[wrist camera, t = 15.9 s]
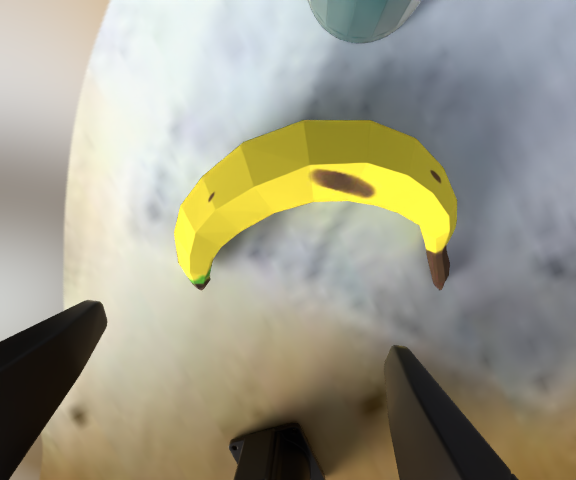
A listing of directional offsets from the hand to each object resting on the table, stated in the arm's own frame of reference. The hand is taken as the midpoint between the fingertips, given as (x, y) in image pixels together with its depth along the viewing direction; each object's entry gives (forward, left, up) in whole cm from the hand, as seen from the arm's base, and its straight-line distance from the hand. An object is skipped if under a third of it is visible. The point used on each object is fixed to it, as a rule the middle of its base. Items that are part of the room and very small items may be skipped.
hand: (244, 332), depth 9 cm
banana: (-1, -2, -12) cm, 12 cm away
